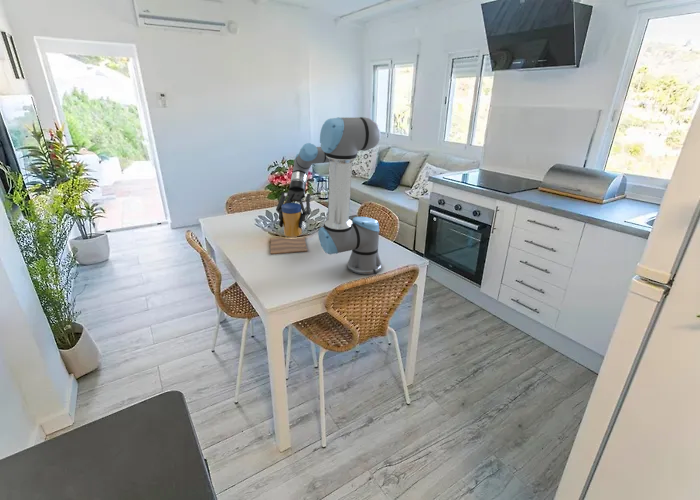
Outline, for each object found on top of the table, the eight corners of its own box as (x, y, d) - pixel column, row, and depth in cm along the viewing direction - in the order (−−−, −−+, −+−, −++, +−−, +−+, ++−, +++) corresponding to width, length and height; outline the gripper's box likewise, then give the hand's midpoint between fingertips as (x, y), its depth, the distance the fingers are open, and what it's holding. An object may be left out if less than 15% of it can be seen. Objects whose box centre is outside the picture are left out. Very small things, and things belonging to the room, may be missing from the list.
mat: (307, 251, 174) (307, 250, 174) (270, 254, 171) (270, 253, 171) (304, 237, 192) (304, 236, 192) (270, 239, 189) (270, 238, 188)
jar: (302, 236, 160) (301, 208, 155) (284, 237, 159) (282, 209, 153) (301, 229, 168) (299, 203, 163) (283, 230, 166) (281, 204, 161)
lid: (302, 212, 156) (301, 208, 155) (282, 214, 154) (281, 209, 153) (300, 207, 163) (300, 202, 163) (281, 208, 162) (281, 203, 161)
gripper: (321, 188, 169) (314, 231, 161) (279, 186, 171) (270, 228, 163) (318, 180, 162) (311, 224, 154) (274, 178, 164) (265, 221, 156)
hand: (290, 226), depth 159 cm, fingers closed on jar, 8 cm apart
